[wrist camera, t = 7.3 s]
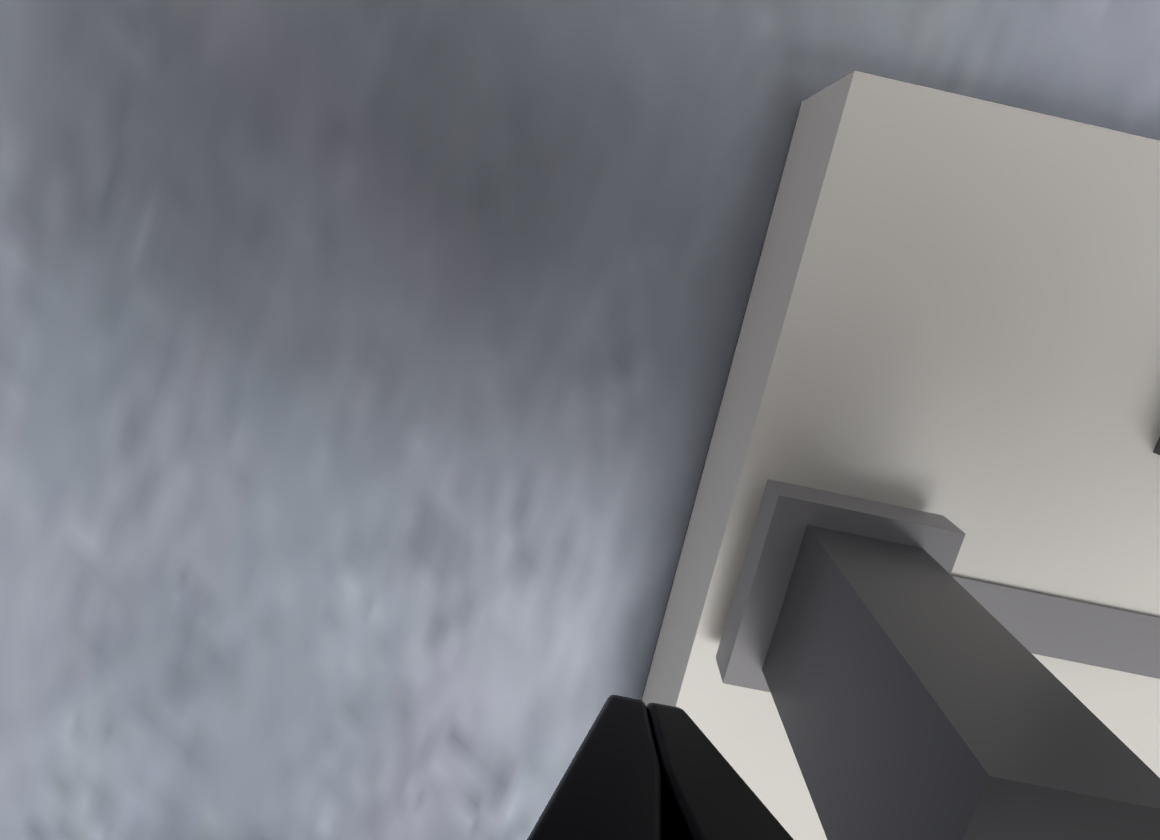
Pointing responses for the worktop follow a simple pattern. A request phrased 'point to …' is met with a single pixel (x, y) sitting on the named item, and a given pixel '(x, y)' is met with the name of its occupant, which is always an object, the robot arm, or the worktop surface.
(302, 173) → the worktop surface
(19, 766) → the worktop surface
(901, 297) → the panel
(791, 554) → the handle
